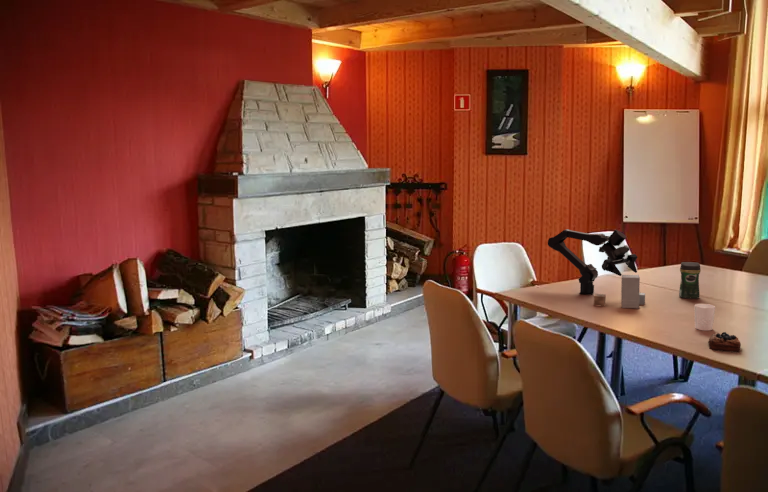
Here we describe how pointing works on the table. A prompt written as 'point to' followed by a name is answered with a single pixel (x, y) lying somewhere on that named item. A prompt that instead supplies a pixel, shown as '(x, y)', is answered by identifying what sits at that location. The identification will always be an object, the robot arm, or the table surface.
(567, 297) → the table surface
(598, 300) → the walnut block
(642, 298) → the slate-grey block
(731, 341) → the pastry
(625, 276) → the skincare box
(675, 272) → the table surface
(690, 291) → the coffee jar
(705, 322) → the white cup
